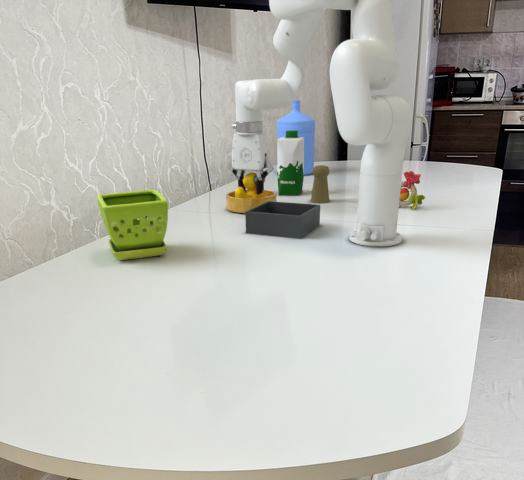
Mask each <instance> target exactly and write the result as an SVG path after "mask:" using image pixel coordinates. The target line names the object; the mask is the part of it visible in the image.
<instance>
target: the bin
mask: <svg viewBox="0 0 524 480" xmlns="http://www.w3.org/2000/svg"><path fill="white" fill-rule="evenodd" d="M244 217H245V220H244V221H245V234H249V235H250V234H251V235H261V236H270V237H271V236H272V237H280V238H281V237H282V238H292V239H303V238H304V237H306V236H307V235H308V234H309V233H311V232H312V231H314V230H315V229H317V228H318V227H320V225H321V220H320V219H321V204H316V203H314V204H313V203H300V202H299V203H298V202H287V201H286V202H285V201H276V202H274V201H267V202H265V203H263V204H261V205H259V206H256V207H254V208H252V209H250V210H248V211H246V212H245V213H244Z"/></svg>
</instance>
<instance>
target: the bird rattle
mask: <svg viewBox="0 0 524 480" xmlns="http://www.w3.org/2000/svg"><path fill="white" fill-rule="evenodd" d="M403 175H404V178H405V180H403V181H401V190H400V201H399V208H400V207H407V206H410V205H411V204H412V205H411V209H412V210H416V208H417V207H418V205H420V206H421V205H423V201H424V200H425V198H426V196H425V195H424V194H418V189H417V186H416V185H419V184H420V183H421V180H420V179H421V176H422V174H420V173H419V174H418V173H417V174H416V173H415V172H414V171H413V170H410V171H404V173H403ZM415 184H416V185H415ZM409 190H410V191H409Z"/></svg>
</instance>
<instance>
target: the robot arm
mask: <svg viewBox="0 0 524 480" xmlns="http://www.w3.org/2000/svg"><path fill="white" fill-rule="evenodd" d="M268 2H269V3H268V5H269V10H270V12H271V14H272V15H273V17H275V18H276V19H278V20H279V23H278V25H277V28H276V30H275V32H274V34H273V38H272V44H273V47H274V49H275V50H276V51H277V52H278V54H280V56H282V57H283V58H284V59H286V60H287V64H286V65H287V66H286V68H285V70H284V72H283V73H282V76H281V77H280V78H256V79H247V80H246V79H245V80H244V79H243V80H238V81H236V83H235V85H234V101H235V123H233V124H232V129H233V130H234V129H235V132H236V133H233V137H232V146H231V160H230V161H229V163H228V165H227V168H228V169H229V171H231V172H232V174H233V175H234V176H235V178H236V180H237V188H238V187H242V188H243V189H244V191H246V190H247V189H246V188H245V186H244V184H243V179H244V178H245V173H246V171H255V173H256V174H257V177H258V180H257V181H256V193H257V194H261V193H263V190H265V182H264V179H265V180H266V178H267V176H268V175H269V174H270V173H271V172H272V171H274V170H275V168H274V166H273V164H272V163H271V161H270V160H269V157H268V156H269V155H268V145H267V139H266V135H265V133H264V132H263V111H267V110H281V109H286V108H289V106H292V105H293V101H294V100H296V98H297V96H298V94H299V92H300V91H301V89H302V87H303V85H304V82H305V77H306V62H305V57H304V54H305V53H306V50H307V48H308V46H309V44H310V42H311V40H312V38H313V37H314V34H315V32H316V31H317V29H318V27H319V25H320V23H321V20H323V17H324V15H325V13H326V12H327V11H326V10H339V11H340V10H341V11H353V13H352V18H351V33H352V38H350V39H346V40H344V41H342V42H341V43H340V44H338V45H337V46H336V48H335V49H334V51H333V53H332V55H331V57H330V63H329V83H330V90H331V94H332V102H333V108H334V114H335V121H336V125H337V129H338V133H339V135H340V137H341V138H342V140H343V141H344V142H345V143H347V144H348V145H351V146H365V147H364V149H363V153H362V156H361V160H360V166H359V167H360V168H359V178H358V179H359V180H358V181H359V182H358V195H357V209H356V210H357V211H356V212H357V213H356V227H355V230H354V231H351V232H350V233H349V235H348V237H349V238H348V239H349V241H351V242H352V243H354V244H357V245H360V246H366V247H391V246H395V245H398V244H401V243H402V242H403V238H404V237H403V235H402V234H401V233H400V232H398V231H397V229H398V220H399V210H400V207H399V201H400V190H401V182H402V179H403V171H404V170H403V169H404V160H405V154H406V148H407V143H408V139H409V136H410V134H411V133H410V132H411V130H412V125H413V123H412V122H413V113H412V108H411V106H410V104H409V103H408V102H407V100H406V99H404V98H403V97H401V96H398V95H394V94H379V95H378V94H377V95H372V94H371V91H372V92H373V91H381V90H385V89H388V88H390V87H391V86H392V85H394V84H395V82H396V81H397V78H398V76H399V58H398V50H397V42H396V35H395V26H394V21H393V20H394V19H393V13H392V0H268ZM264 169H265V170H264Z"/></svg>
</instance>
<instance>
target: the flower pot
mask: <svg viewBox="0 0 524 480" xmlns="http://www.w3.org/2000/svg"><path fill="white" fill-rule="evenodd" d="M96 199H97V203H98V207H99V212H100V215H101V219H102V222H103V224H104V227H105V229H106V231H107V234H108V236H109V239H108V240H107V241H108V245H109V247H110V248H109V249H110V251H111V252H112V254H113V257H115V258H116V259H117V260H119V261H125V260H134V259H143V258H150V257H161V256H162V255H163V254H164V253H165V252H166V251H167V250H168V245H167V244H166V242H165V241H164V240H165V237H166V233H167V229H168V228H167V227H168V221H169V204H168V200H167V198H166V197H165V196H164V195H163V194H162V193H161V192H160V191H158V190H156V189H147V190H134V191H124V192H123V191H121V192H112V193H105V194H97V197H96Z"/></svg>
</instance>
